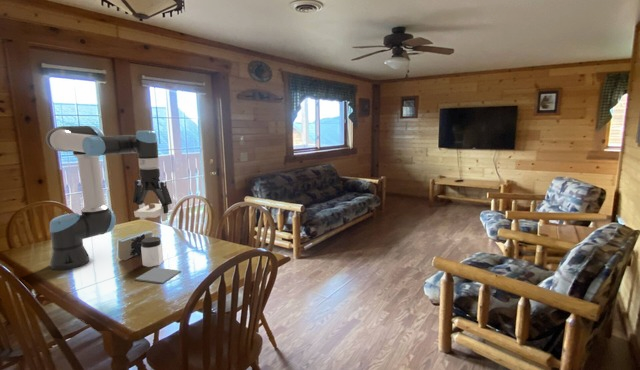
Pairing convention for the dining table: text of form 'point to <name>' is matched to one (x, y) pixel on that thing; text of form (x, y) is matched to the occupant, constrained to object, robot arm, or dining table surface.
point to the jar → (151, 251)
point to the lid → (150, 210)
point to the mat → (158, 275)
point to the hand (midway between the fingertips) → (153, 219)
